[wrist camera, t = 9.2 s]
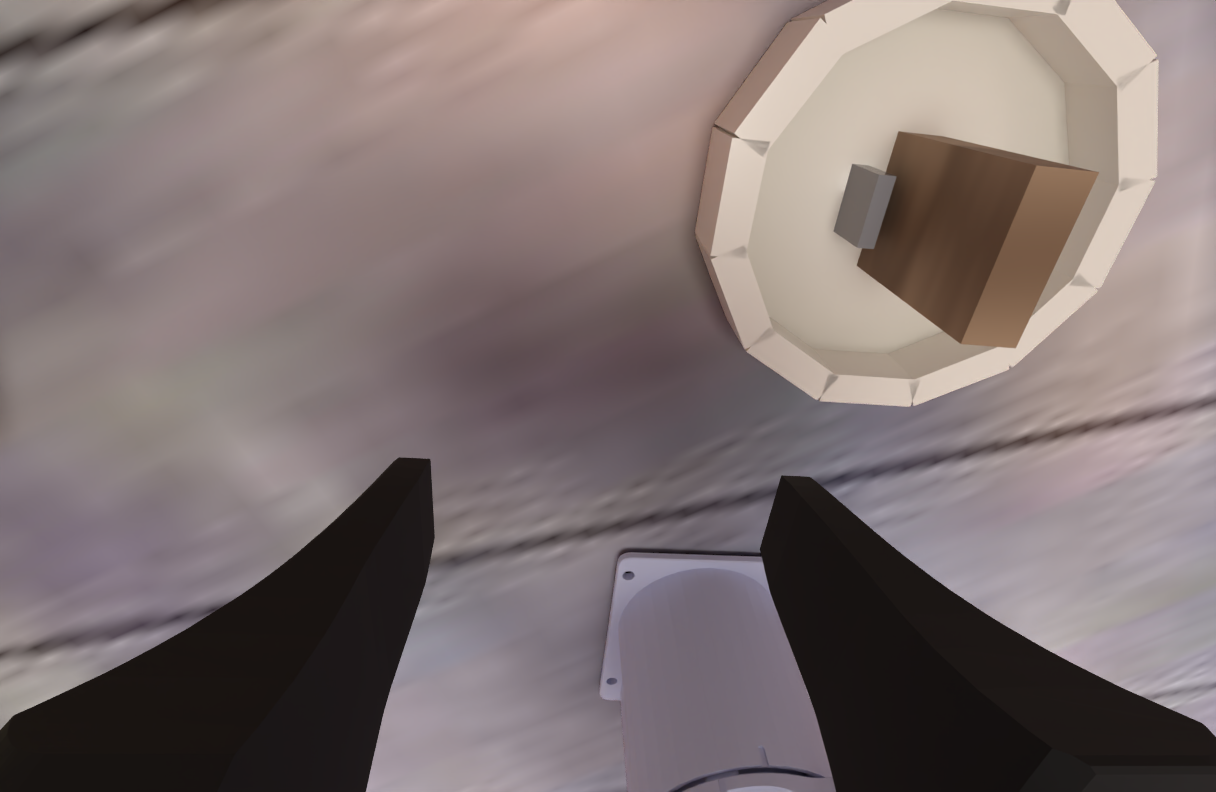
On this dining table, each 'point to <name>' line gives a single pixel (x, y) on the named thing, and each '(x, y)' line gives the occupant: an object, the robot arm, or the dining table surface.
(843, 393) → the white shallow dish
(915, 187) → the brown wooden block
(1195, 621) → the dining table surface
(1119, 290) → the dining table surface
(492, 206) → the dining table surface
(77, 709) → the robot arm
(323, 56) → the dining table surface
